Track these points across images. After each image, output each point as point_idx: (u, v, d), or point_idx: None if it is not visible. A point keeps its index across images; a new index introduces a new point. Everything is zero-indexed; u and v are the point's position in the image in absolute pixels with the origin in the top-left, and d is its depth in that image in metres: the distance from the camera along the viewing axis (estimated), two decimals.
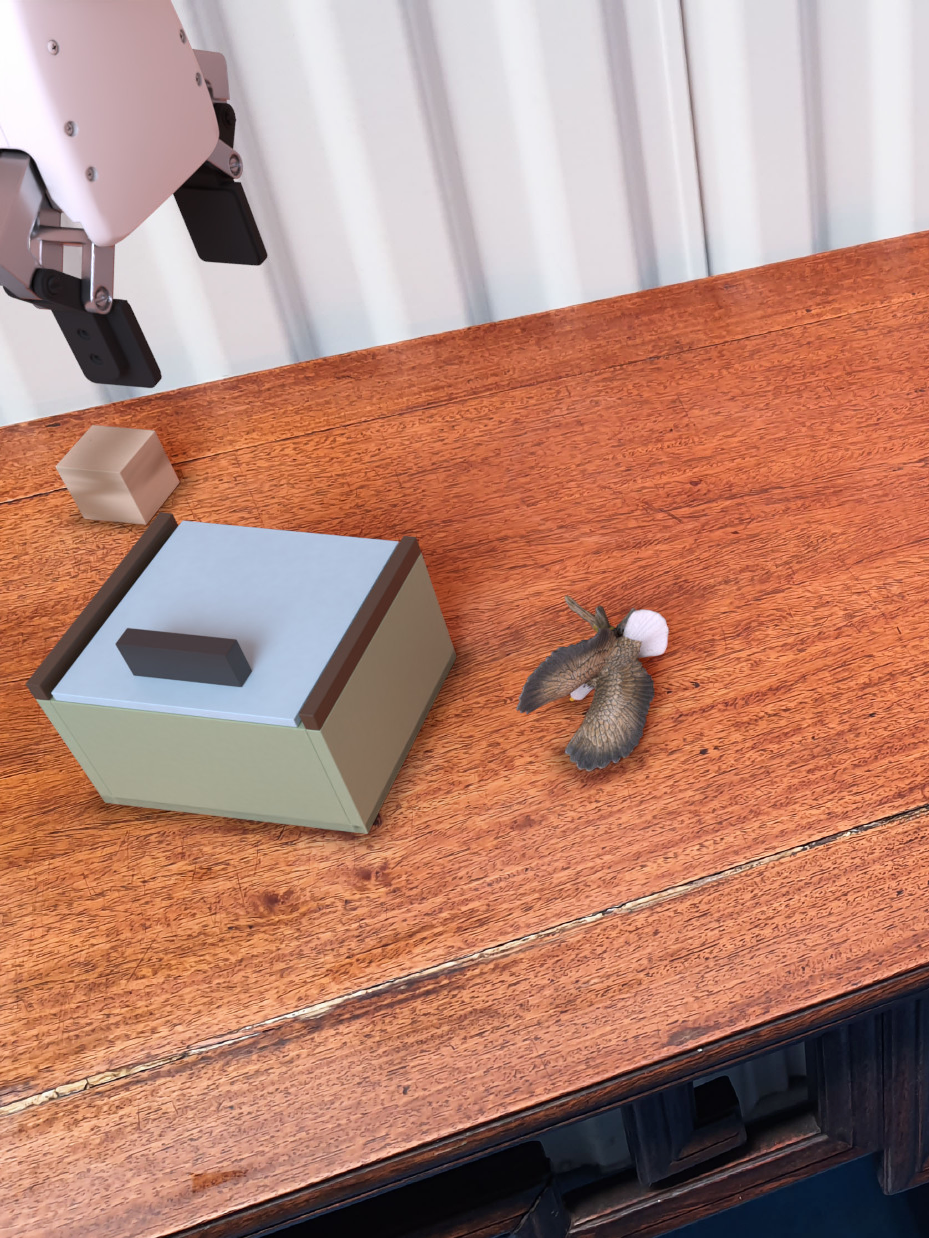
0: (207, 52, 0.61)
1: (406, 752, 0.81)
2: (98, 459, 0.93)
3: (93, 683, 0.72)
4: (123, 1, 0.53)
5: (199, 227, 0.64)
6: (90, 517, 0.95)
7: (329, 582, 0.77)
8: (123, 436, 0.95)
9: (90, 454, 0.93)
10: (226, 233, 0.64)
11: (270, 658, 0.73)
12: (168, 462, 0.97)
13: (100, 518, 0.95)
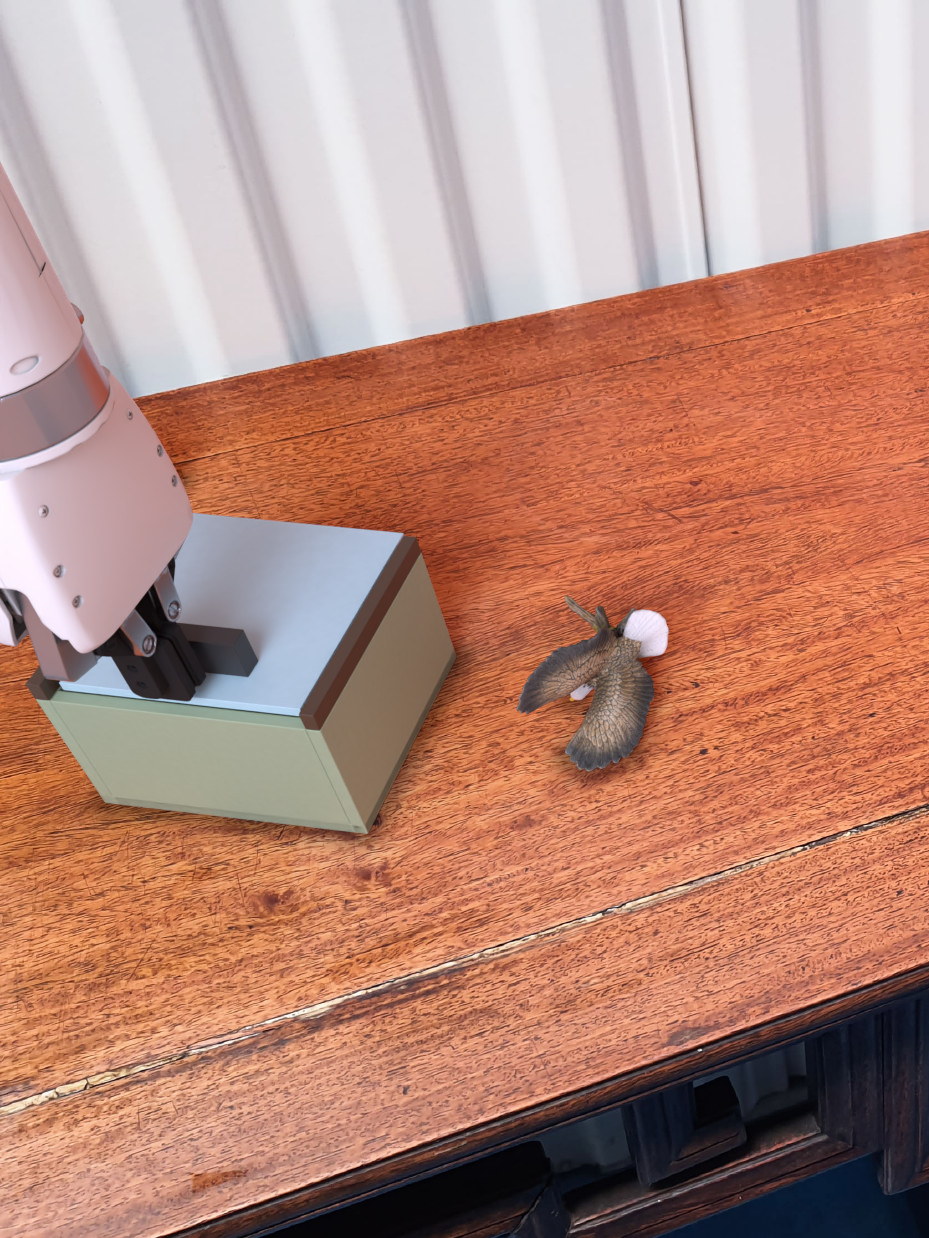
0: None
1: (406, 752, 0.81)
2: None
3: (100, 673, 0.73)
4: (106, 448, 0.61)
5: None
6: None
7: (334, 573, 0.78)
8: None
9: None
10: None
11: (276, 648, 0.74)
12: None
13: None
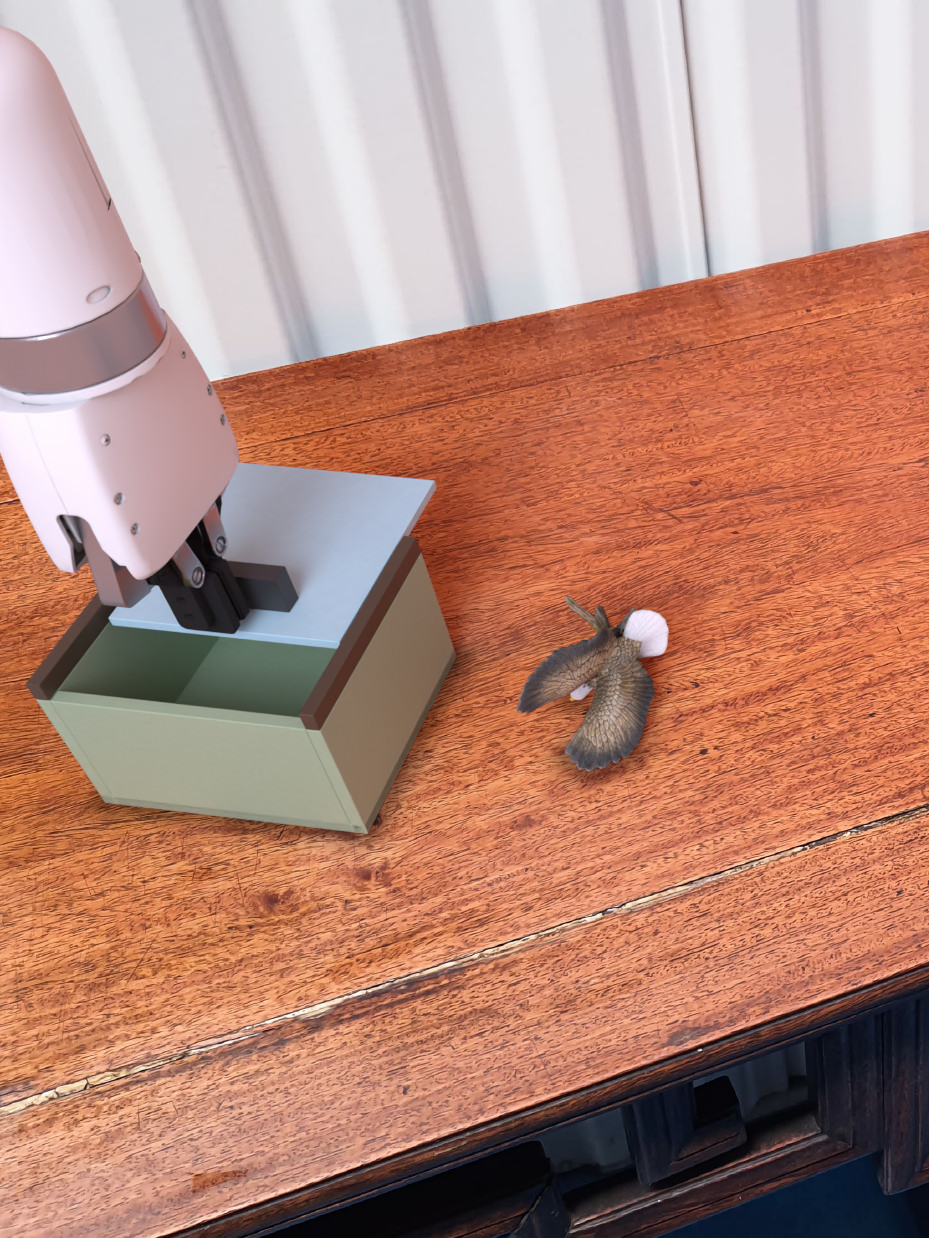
0: None
1: (406, 752, 0.81)
2: None
3: (148, 609, 0.76)
4: (162, 384, 0.64)
5: None
6: None
7: (369, 517, 0.81)
8: None
9: None
10: None
11: (315, 586, 0.77)
12: None
13: None
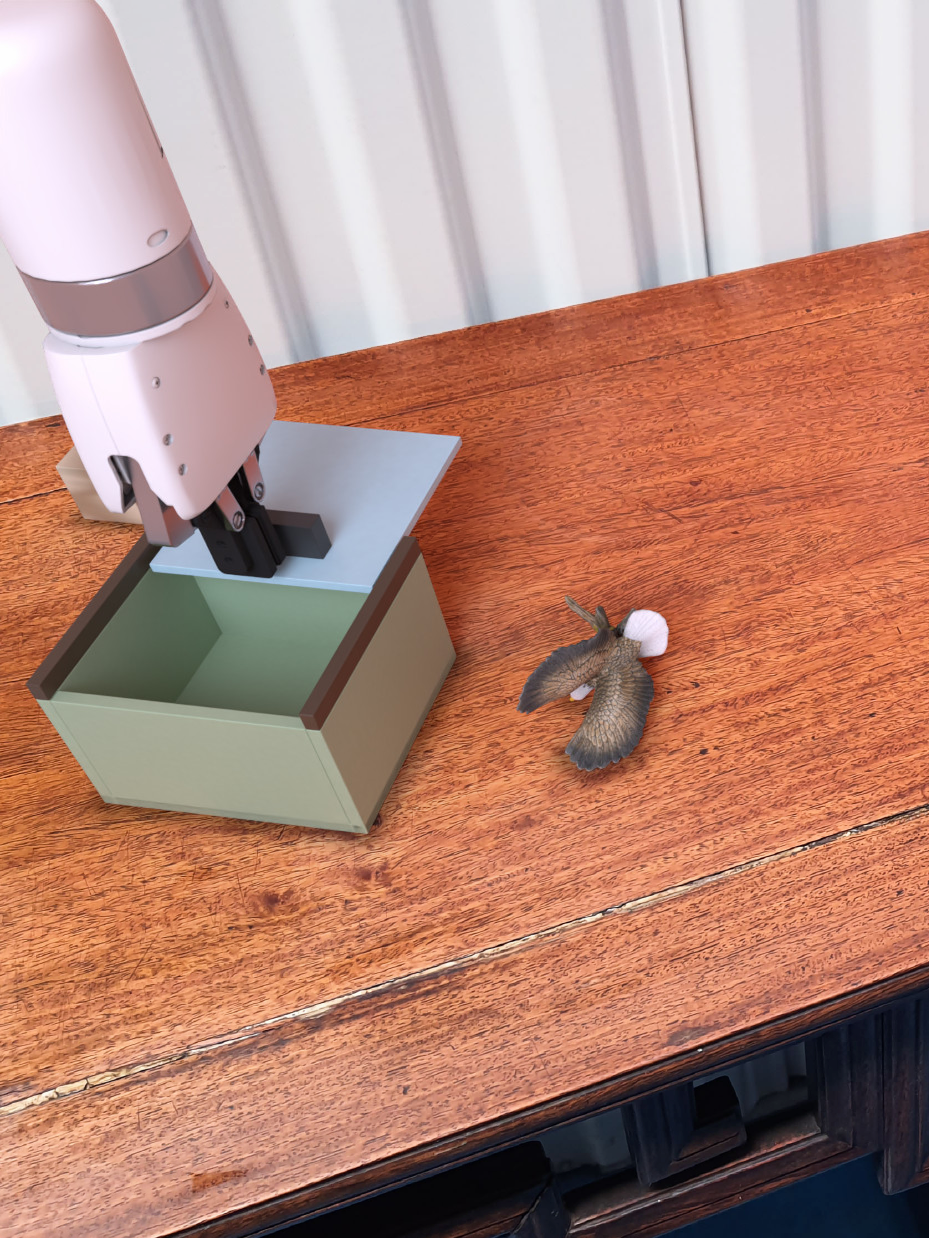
0: None
1: (406, 752, 0.81)
2: None
3: (187, 556, 0.79)
4: (207, 331, 0.67)
5: None
6: (90, 517, 0.95)
7: (398, 470, 0.84)
8: None
9: None
10: None
11: (348, 535, 0.80)
12: None
13: (100, 518, 0.95)
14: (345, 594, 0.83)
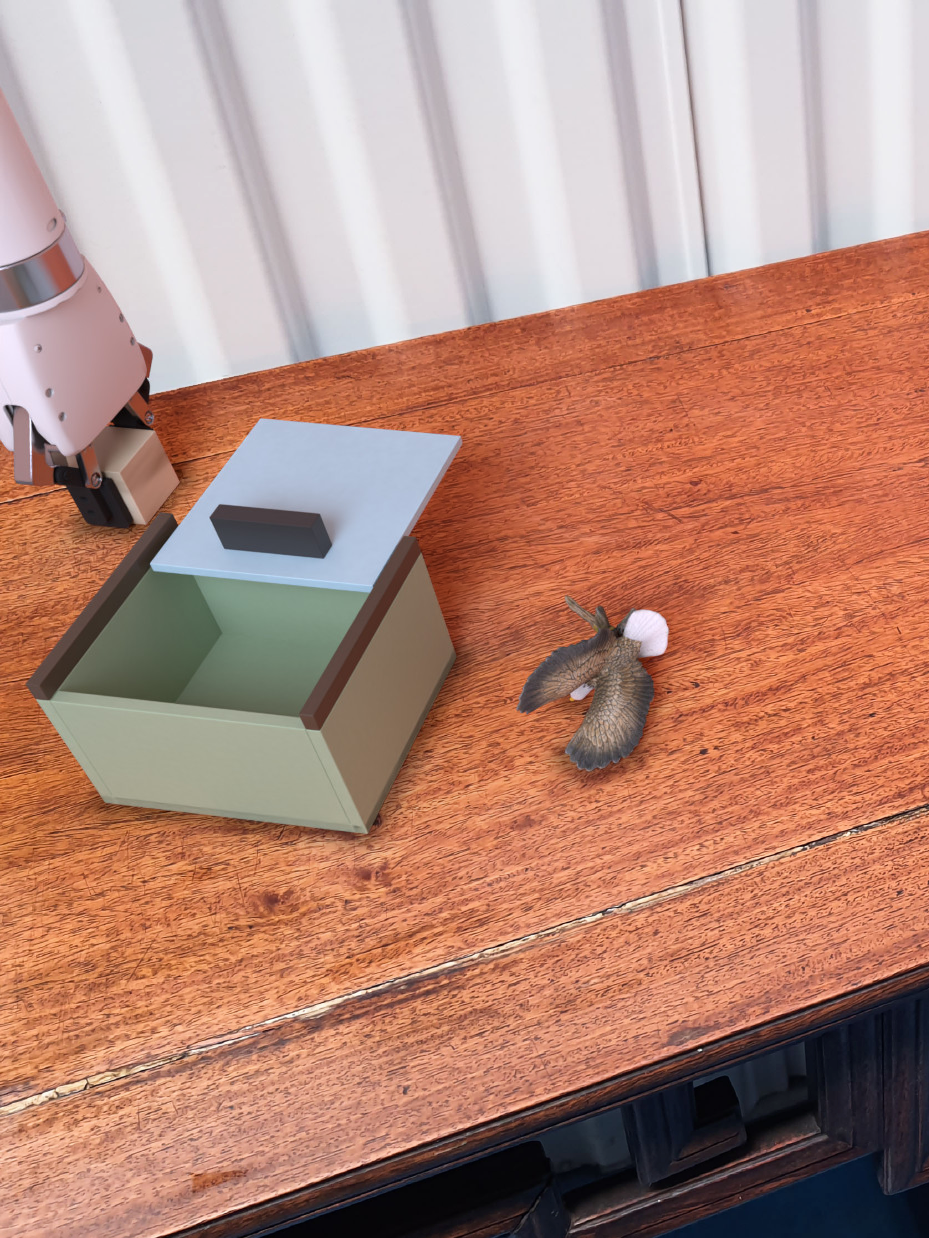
0: (141, 344, 0.95)
1: (406, 752, 0.81)
2: (98, 459, 0.93)
3: (187, 555, 0.79)
4: (81, 310, 0.87)
5: None
6: None
7: (398, 470, 0.84)
8: (123, 436, 0.95)
9: None
10: None
11: (348, 534, 0.80)
12: (168, 462, 0.97)
13: None
14: (345, 594, 0.83)
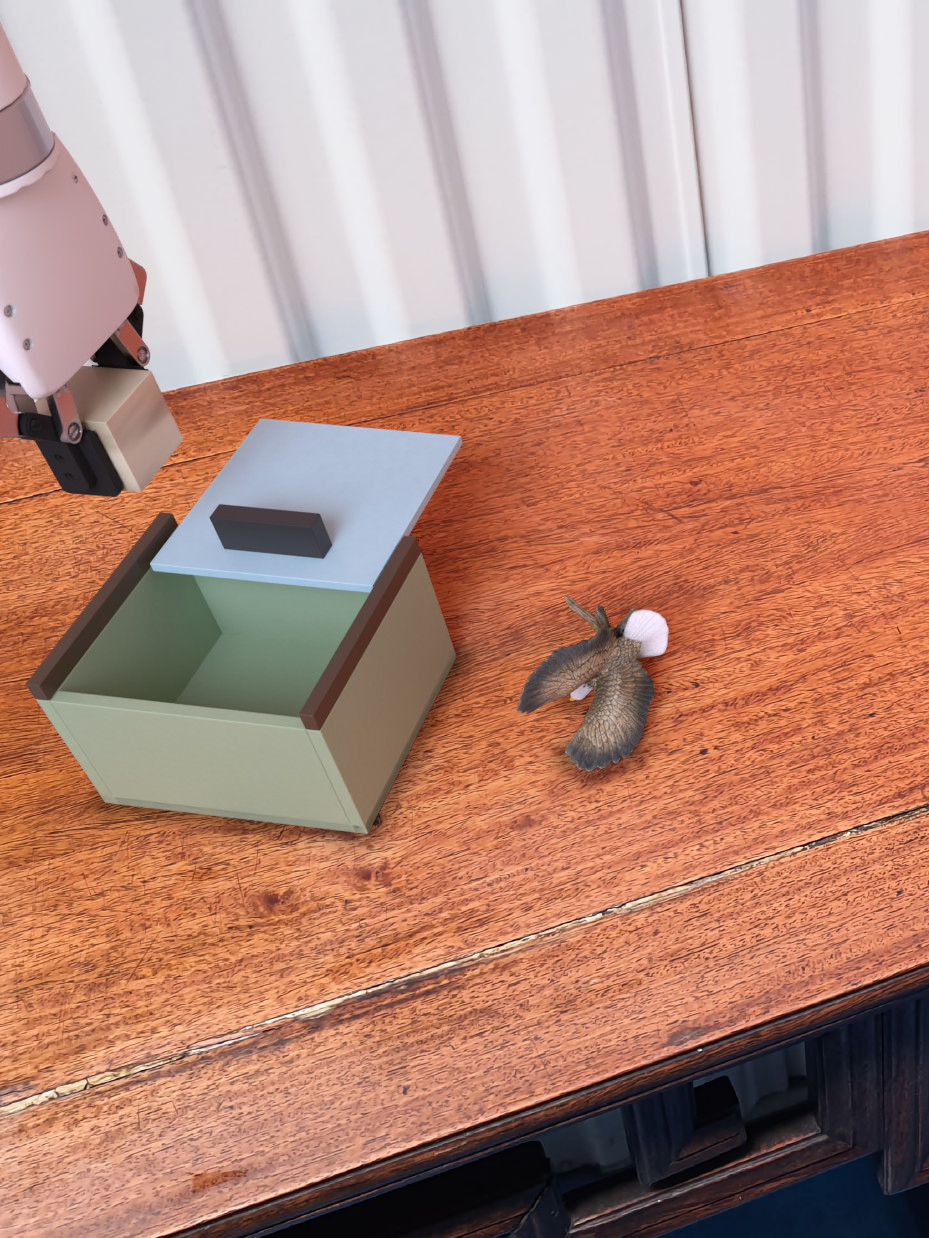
0: (131, 261, 0.74)
1: (406, 752, 0.81)
2: (78, 407, 0.72)
3: (187, 555, 0.79)
4: (52, 203, 0.65)
5: None
6: None
7: (398, 470, 0.84)
8: (110, 378, 0.73)
9: None
10: None
11: (348, 534, 0.80)
12: (169, 413, 0.76)
13: None
14: (345, 594, 0.83)
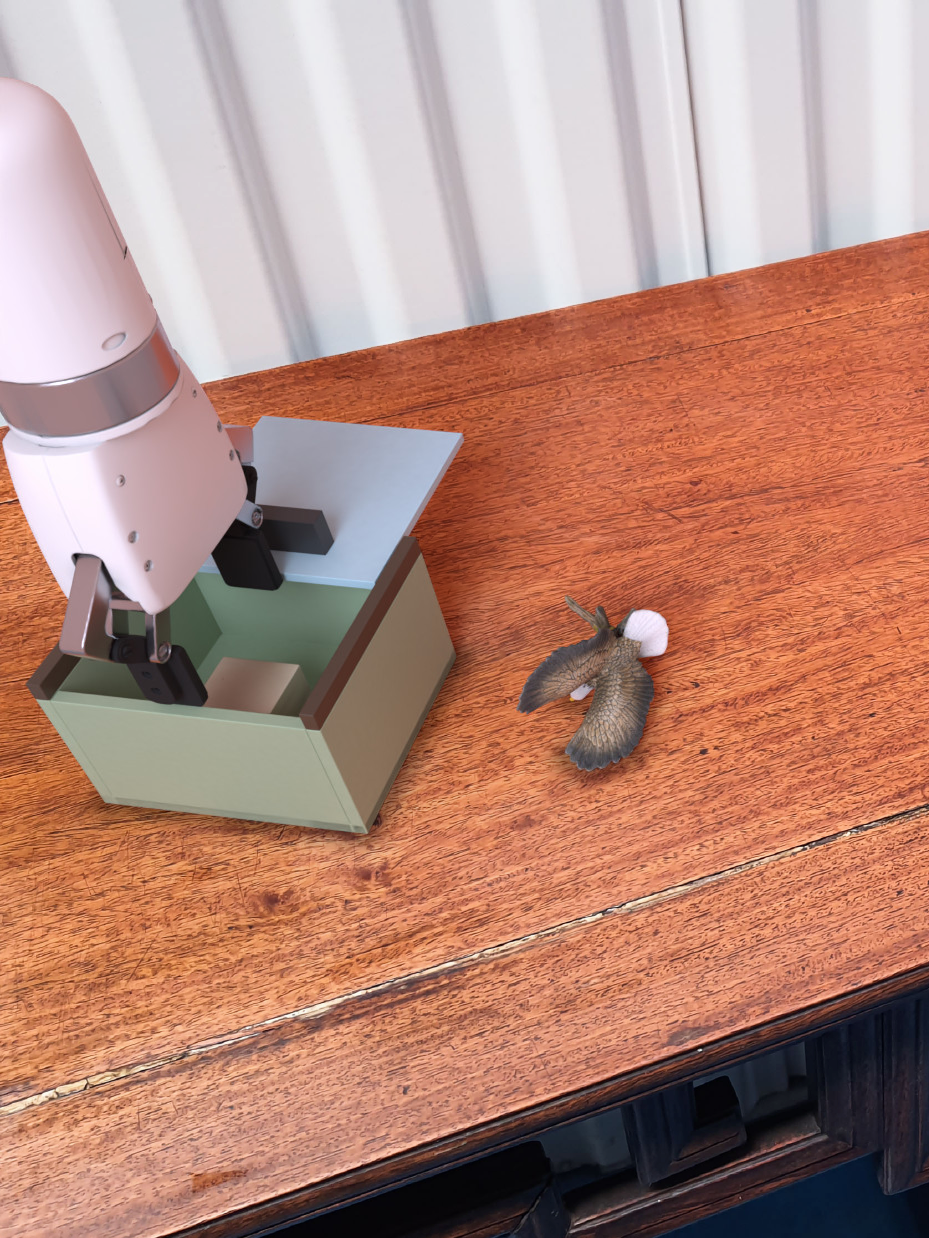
0: (238, 428, 0.74)
1: (406, 752, 0.81)
2: (235, 707, 0.76)
3: None
4: (174, 423, 0.65)
5: (226, 563, 0.76)
6: None
7: (400, 467, 0.84)
8: (262, 673, 0.78)
9: (225, 700, 0.77)
10: (248, 568, 0.76)
11: (350, 531, 0.80)
12: None
13: None
14: (345, 594, 0.83)
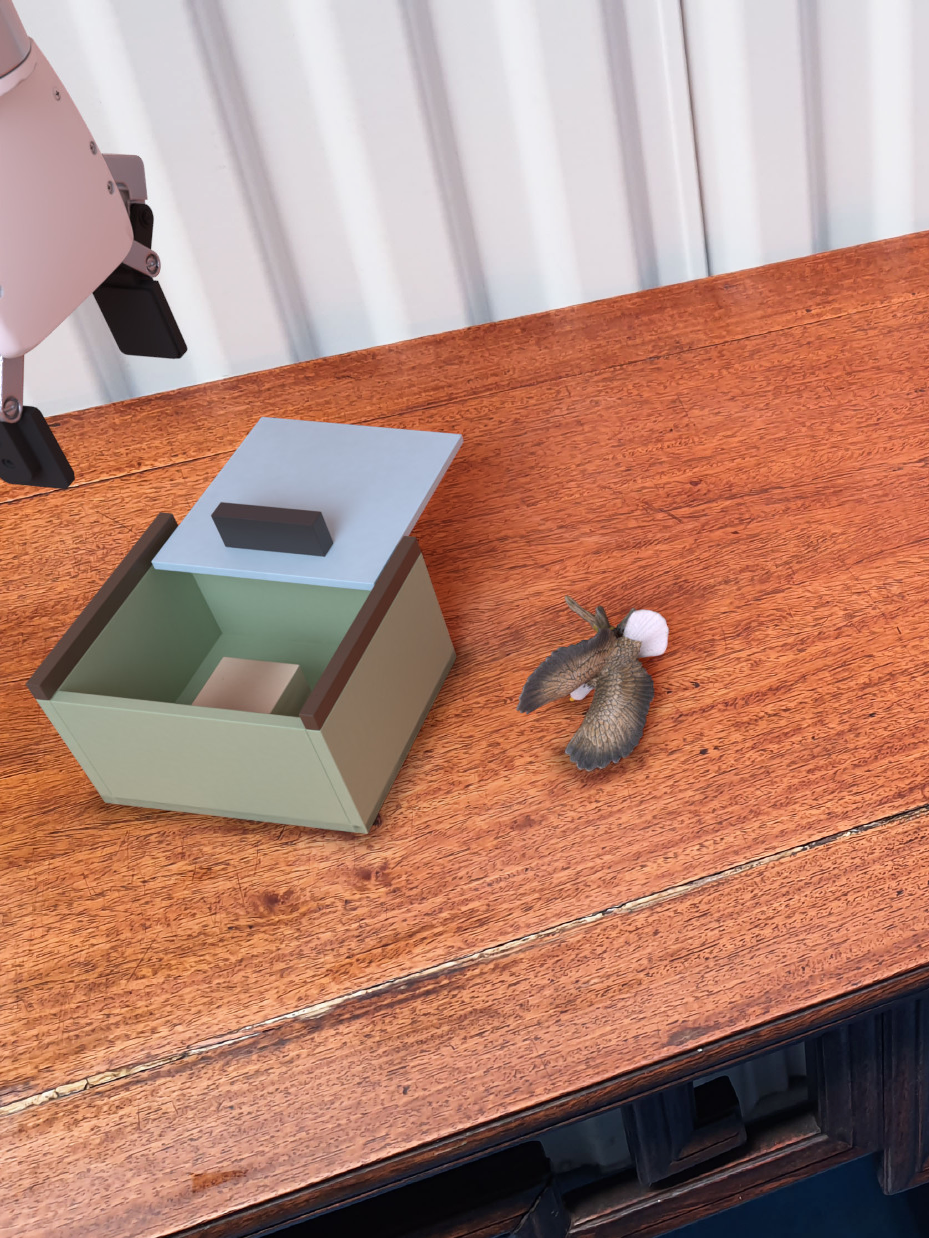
0: (123, 156, 0.63)
1: (406, 752, 0.81)
2: (235, 707, 0.76)
3: (189, 553, 0.79)
4: (28, 122, 0.54)
5: (119, 323, 0.66)
6: None
7: (399, 468, 0.84)
8: (262, 673, 0.78)
9: (225, 700, 0.77)
10: (145, 329, 0.66)
11: (349, 532, 0.80)
12: None
13: None
14: (345, 594, 0.83)
